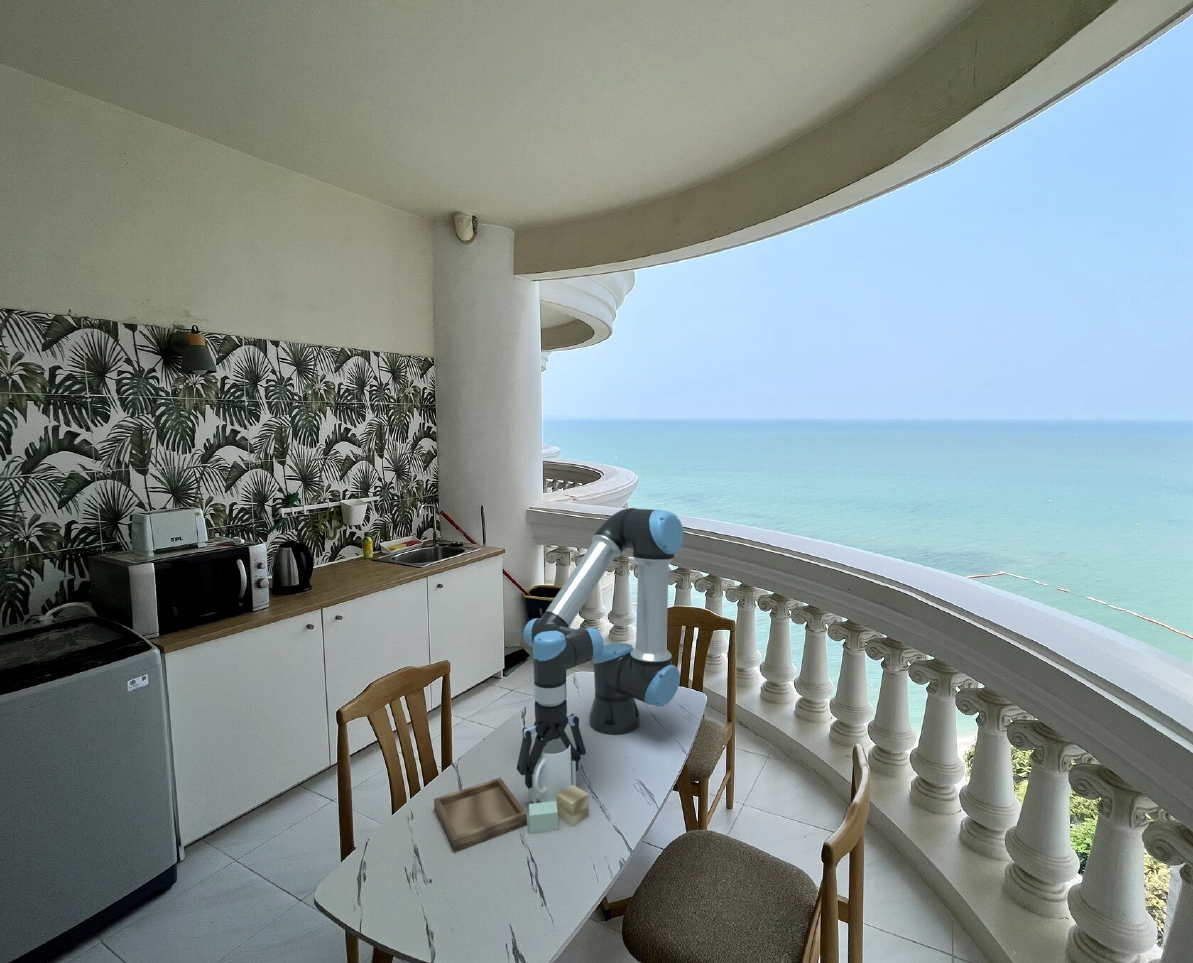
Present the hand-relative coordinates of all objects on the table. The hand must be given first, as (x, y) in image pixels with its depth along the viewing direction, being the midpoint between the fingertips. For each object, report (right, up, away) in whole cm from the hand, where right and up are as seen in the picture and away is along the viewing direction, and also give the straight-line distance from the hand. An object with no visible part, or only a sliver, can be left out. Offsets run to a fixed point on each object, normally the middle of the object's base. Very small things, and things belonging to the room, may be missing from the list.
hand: (552, 792), depth 131 cm
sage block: (-1, -2, -10) cm, 10 cm away
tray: (-16, -2, -7) cm, 17 cm away
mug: (-1, -1, 0) cm, 1 cm away
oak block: (+5, -2, -7) cm, 9 cm away
